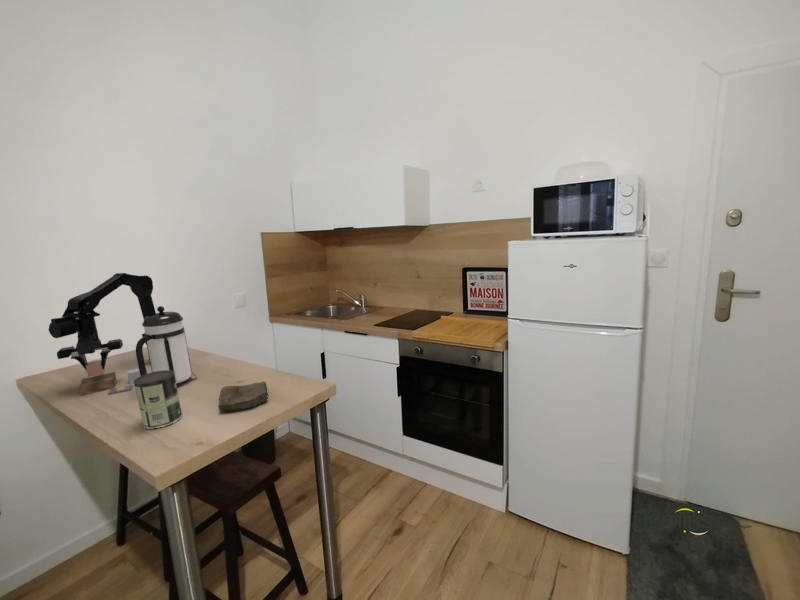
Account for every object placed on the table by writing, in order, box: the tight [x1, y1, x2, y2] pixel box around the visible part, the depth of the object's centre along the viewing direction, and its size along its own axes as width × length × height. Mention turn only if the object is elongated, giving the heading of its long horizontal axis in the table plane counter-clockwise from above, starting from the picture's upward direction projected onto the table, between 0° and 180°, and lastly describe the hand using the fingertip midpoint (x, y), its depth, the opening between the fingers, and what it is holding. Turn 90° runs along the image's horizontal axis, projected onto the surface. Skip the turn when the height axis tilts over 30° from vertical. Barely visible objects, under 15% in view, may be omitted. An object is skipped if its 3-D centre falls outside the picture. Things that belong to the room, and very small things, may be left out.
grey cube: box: [126, 368, 141, 385], centre depth 150 cm, size 4×4×4 cm
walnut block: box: [78, 371, 118, 396], centre depth 145 cm, size 10×10×4 cm
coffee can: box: [133, 370, 183, 430], centre depth 113 cm, size 10×10×14 cm
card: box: [107, 384, 134, 396], centre depth 141 cm, size 7×5×1 cm
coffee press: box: [135, 305, 197, 386], centre depth 140 cm, size 17×16×30 cm
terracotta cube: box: [86, 360, 106, 378], centre depth 144 cm, size 4×4×4 cm
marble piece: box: [218, 381, 269, 414], centre depth 124 cm, size 17×15×4 cm
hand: (96, 370), depth 145 cm, fingers closed on terracotta cube, 4 cm apart
